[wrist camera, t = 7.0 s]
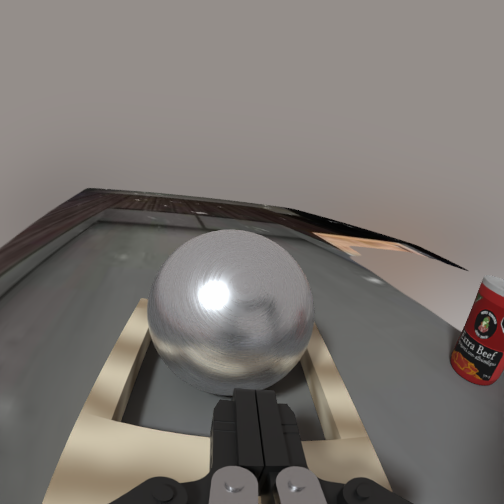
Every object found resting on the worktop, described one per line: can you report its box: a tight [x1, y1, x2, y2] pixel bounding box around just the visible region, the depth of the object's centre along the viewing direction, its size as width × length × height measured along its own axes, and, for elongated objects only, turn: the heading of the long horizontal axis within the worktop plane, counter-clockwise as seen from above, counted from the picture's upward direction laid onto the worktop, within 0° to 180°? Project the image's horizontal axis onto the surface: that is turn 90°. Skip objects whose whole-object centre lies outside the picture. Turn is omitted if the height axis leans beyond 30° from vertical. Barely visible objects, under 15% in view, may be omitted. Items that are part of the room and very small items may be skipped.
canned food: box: [451, 276, 504, 385], centre depth 26 cm, size 8×8×11 cm
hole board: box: [42, 298, 393, 504], centre depth 18 cm, size 26×18×2 cm
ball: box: [147, 230, 315, 396], centre depth 22 cm, size 12×12×12 cm
